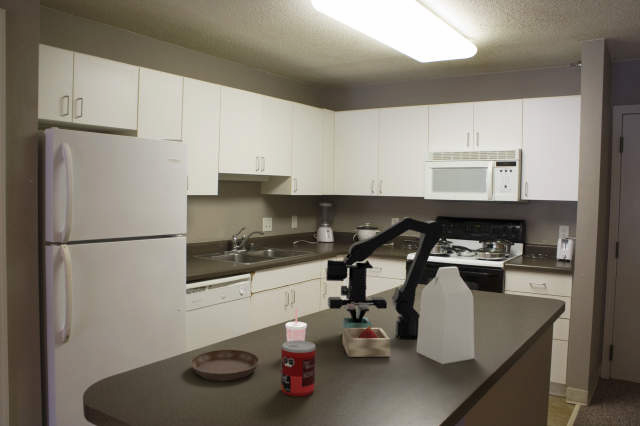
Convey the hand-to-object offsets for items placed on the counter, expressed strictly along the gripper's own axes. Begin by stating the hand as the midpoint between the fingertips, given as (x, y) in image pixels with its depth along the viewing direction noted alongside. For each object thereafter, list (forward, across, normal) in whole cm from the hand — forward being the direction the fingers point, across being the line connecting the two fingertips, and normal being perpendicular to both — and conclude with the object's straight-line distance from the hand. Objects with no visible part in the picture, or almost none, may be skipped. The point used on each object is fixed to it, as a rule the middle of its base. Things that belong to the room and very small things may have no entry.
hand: (356, 328), depth 170 cm
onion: (+3, 0, +18) cm, 18 cm away
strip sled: (+2, 0, +9) cm, 10 cm away
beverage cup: (+3, +21, +19) cm, 29 cm away
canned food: (+3, +23, +45) cm, 50 cm away
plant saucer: (+3, +40, +31) cm, 51 cm away
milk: (+3, -23, +20) cm, 31 cm away
